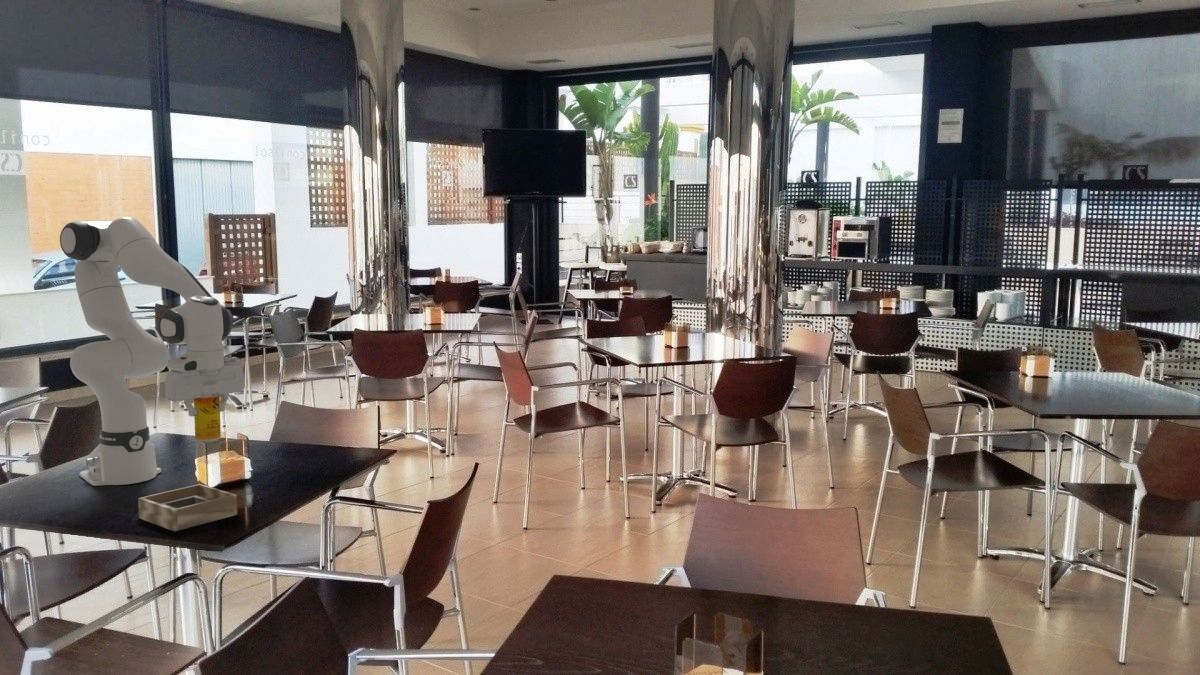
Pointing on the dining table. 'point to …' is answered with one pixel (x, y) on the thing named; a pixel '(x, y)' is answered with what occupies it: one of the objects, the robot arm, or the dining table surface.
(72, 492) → the dining table surface
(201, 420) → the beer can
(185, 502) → the crate
